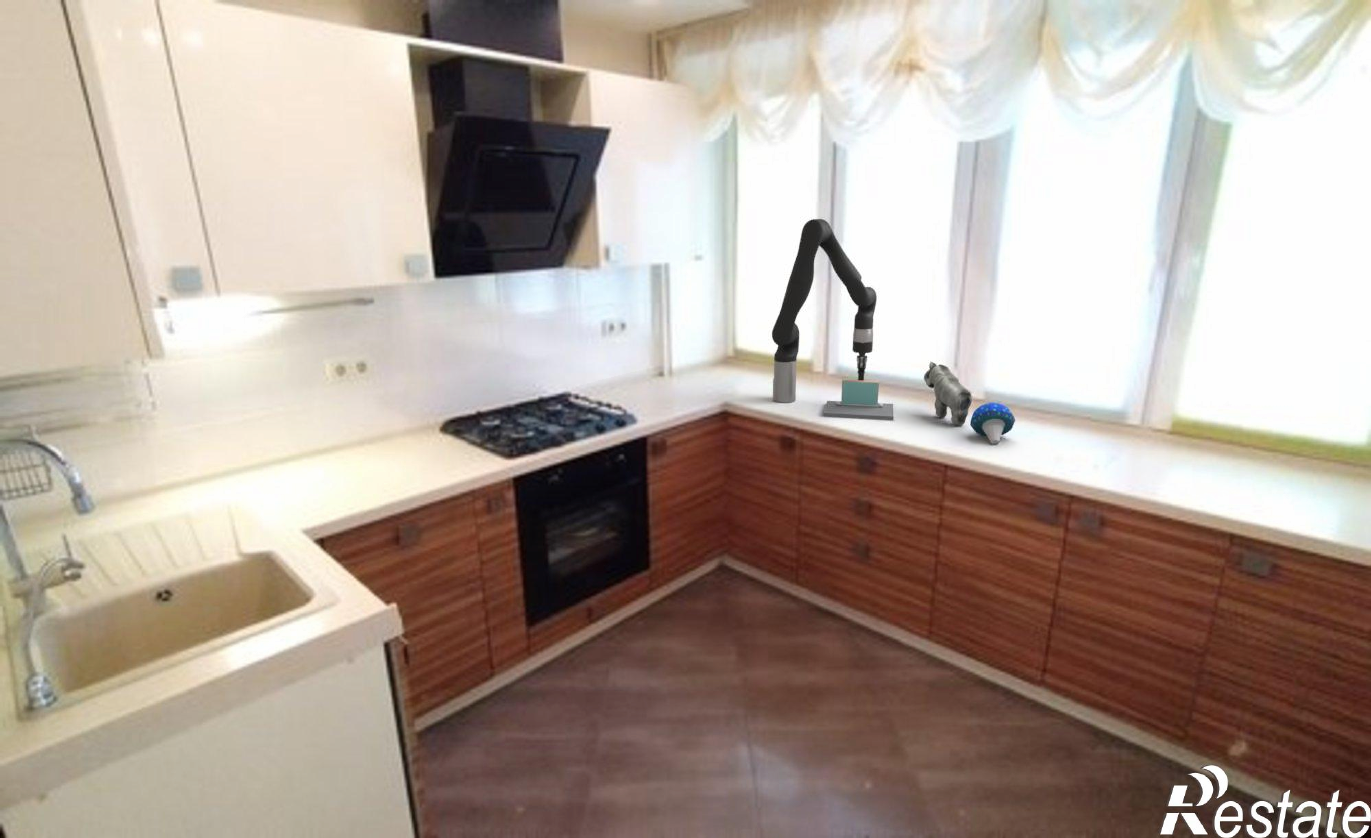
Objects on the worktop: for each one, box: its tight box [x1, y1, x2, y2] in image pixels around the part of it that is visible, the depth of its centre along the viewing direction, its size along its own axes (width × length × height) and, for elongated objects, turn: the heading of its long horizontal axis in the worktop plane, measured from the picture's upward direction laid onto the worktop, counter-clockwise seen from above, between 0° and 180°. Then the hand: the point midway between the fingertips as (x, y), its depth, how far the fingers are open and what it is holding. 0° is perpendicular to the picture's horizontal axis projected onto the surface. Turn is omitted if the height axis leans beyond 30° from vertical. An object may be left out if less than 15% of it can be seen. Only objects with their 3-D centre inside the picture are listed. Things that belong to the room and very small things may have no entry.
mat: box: [823, 400, 895, 421], centre depth 262 cm, size 26×18×3 cm
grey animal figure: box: [923, 361, 973, 427], centre depth 249 cm, size 25×9×20 cm, turn 15°
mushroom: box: [969, 402, 1016, 445], centre depth 227 cm, size 14×14×15 cm
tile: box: [840, 379, 880, 406], centre depth 263 cm, size 14×10×2 cm
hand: (860, 382), depth 263 cm, fingers closed
